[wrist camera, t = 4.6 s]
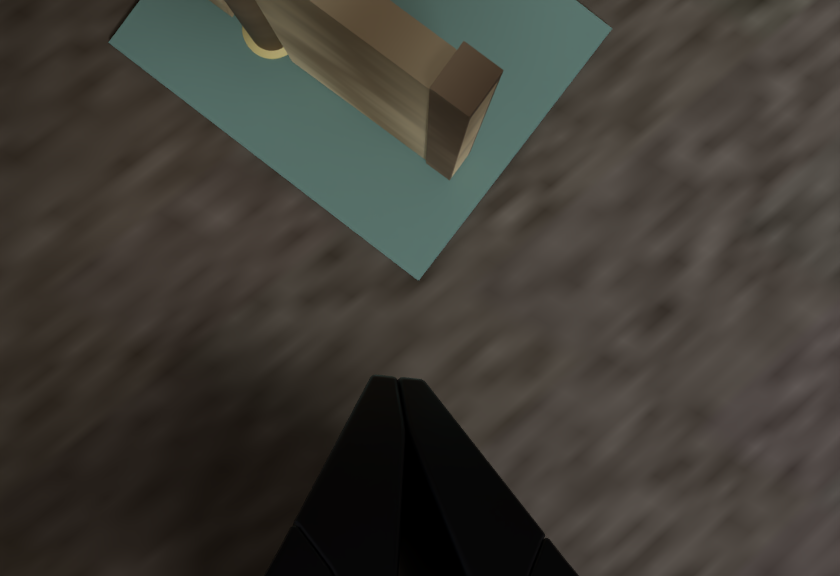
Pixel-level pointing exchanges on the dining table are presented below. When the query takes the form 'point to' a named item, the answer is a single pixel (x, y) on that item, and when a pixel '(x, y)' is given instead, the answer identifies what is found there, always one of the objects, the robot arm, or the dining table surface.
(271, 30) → the fence post and fixed rail
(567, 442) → the dining table surface
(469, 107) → the fence panel
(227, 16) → the card
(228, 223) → the dining table surface
